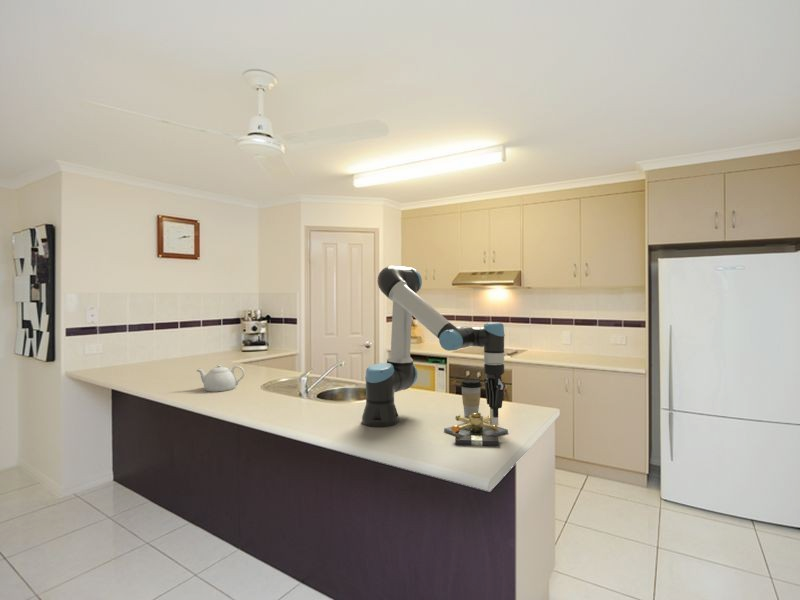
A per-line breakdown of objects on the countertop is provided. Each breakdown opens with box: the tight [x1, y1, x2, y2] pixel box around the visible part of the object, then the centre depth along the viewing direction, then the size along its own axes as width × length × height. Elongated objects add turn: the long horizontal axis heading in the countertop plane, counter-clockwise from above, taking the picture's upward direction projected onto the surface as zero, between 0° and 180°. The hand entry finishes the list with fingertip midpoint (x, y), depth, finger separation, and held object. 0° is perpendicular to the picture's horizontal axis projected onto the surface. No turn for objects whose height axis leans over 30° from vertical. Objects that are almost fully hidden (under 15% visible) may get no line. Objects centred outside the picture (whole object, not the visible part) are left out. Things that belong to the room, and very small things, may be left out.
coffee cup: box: [459, 378, 483, 418], centre depth 193 cm, size 9×9×15 cm
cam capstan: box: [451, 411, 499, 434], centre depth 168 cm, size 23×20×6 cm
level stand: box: [443, 422, 509, 447], centre depth 165 cm, size 25×24×2 cm
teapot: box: [196, 364, 245, 393], centre depth 249 cm, size 19×18×14 cm
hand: (494, 424), depth 170 cm, fingers closed
